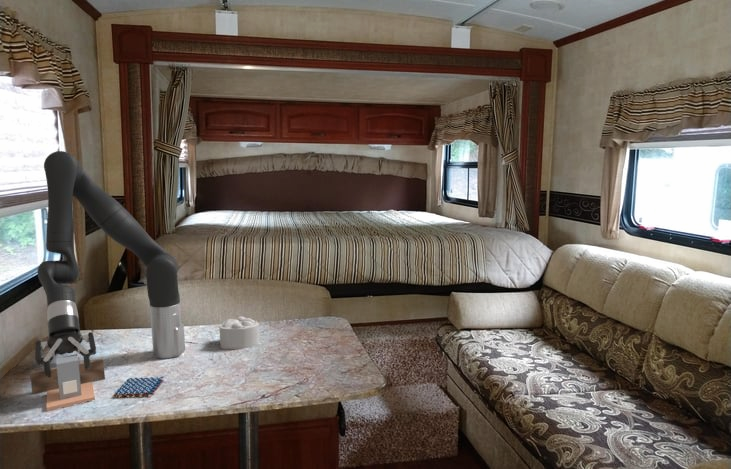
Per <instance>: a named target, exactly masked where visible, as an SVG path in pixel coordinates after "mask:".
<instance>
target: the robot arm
mask: <svg viewBox="0 0 731 469" xmlns="http://www.w3.org/2000/svg"><path fill="white" fill-rule="evenodd" d="M43 168H44V172H45V178H46V186H47V201H48V202H47V203H48V204H47V220H46V235H45V236H46V240H45V241H46V242H45V249H46V251H47V252H50V253H54V254H59V255H62V256H63V257H64V259H65V260H44V261H42V262H41V263H40V264H39V265H38V268H37V277H38V280H39V282H40V284H41V286H42V289H43V290H44V293H45V296H46V303H47V311H46V312H47V313H46V316H47V317H46V319H47V331H48V340H46V341H41V340H36V341H35V344H34V345H35V348H34V349H35V352H34V354H35V356H34V358H35V359H34V360H35V364H36V365H37V366H38V365H42V366H43V370H44V373H45V376H48V378H49V377H51V368H52V367H51V362H52V361H53V360H54V359H56V358H57V357H56V356H57V355H60V356H62V355H65V354H73V353H74V352H76V354H79V355H81V356H82V357H83V358H82V359H83V362H84V367H85V370H88V368H90V361H91V360H90V357H91V356H93V355H96V353H97V347H96V342H95V338H94V333H93V332H92V331H91V332H88V333H87V334H83V335H82V334H81V328H80V321H79V320H80V319H79V313H78V311H79V310H78V308H77V304H76V293H75V290H74V288H73V287H71V286H69V284H74V283H76V282H77V280H78V279H79V276H80V268H79V265H78V262H77V260H76V255H75V251H74V250H75V249H74V233H75V221H74V209H73V197H74V198H75V199H76V200H77V201H78V202H79V204H80V205H81V206H82V208H83V209H84V210H85V212H86V213H87V215H88V216H89V217H90V218H91V219H92V221H93V222H94V223H95V225H97V226H98V227H99V228H100V229H101V230H102V231H103V232H104V233H105V234H106V235H107V236H108V237H109V238H111V239H112V240H113V241H114V242H116V243H118V244H119V245H120V246H122V247H124V248H125V249H127V250H129V251H130V252H132V253H133V254H134V255H135V256H136V257H137V258H138V259H139V260H140V261H141V262H142V263H143V264H144V266H145V267H146V270H145V271H146V272H145V275H146V276H145V277H146V278H145V279H146V288H147V297H148V300H149V311H150V312H149V313H150V325H151V337H152V352H153V357H154V358H156V359H170V358H176V357H180V356H181V355H182V354H183V353H184V351H185V350H186V339H185V337H186V336H185V325H184V322H182V315H181V314H182V313H181V302H180V301H181V300H180V298H181V297H180V292H179V283H178V282H179V280H178V272H179V263H178V260H177V259H176V258H175V257H174V256H173V255H172V254H170V253H169V252H168V251H167V250H165V249H164V248H163V247H162V246H161V245H160V244H158V243H157V242H156V241H155V240H154V239H153V238H152V237H151V236H150V235H149V234H148V232H147V231H146V230H145V229H144V227H143V226H141V224H140V222H138V221H137V220H136V219H135V218H134V217H133V215H132V214H131V213H130V212H129V211H128V210H127V209H126V208H125V207H124V206H123V205H122V204H121V203H120V202H119V201H117V200H116V199H115V198H114V197H112V196H111V194H109V193H107V192H106V191H105V190H104V189H102V188H101V187H100V186H99V185H98V184H97V183H96V182H94V180H93V179H92V178H91V176H90V175H89V174H88V173H87V172H86V170H85V169H84V168H83V166H82V165H81V163H80V162H79V160H78V159H77V158H76V157H75V156H74V155H73V154H71V153H69V152H67V151H63V150H62V151H61V150H57V151H53V152H51V153H50V154H49V155H48V156H46V158H45V159H44V163H43ZM83 341H85V342H86V343H88V344H89V349H86V348H85V346H84V345H83V344H82V342H83ZM46 347H48V348H49V349H50V350H49V351H47V352H48V353H47V354H46V355H45V357H42V354H43V353H42V351H44V350H45V348H46Z"/></svg>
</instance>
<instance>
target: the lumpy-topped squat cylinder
mask: <svg viewBox="0 0 731 469" xmlns="http://www.w3.org/2000/svg"><path fill="white" fill-rule="evenodd" d="M260 340H261V339H260V324H259V322H258V321H257V320H253V319H252V318H250V317H245V316H242V315H241V316H238V317H236V318H228V319H225V321H222V324H221V325H220V326H219V342H220V343H219V345H220V346H219V347H220V349H224V350H241V349H248V348H253V347H255V346H258V345H259V344H260Z"/></svg>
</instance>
